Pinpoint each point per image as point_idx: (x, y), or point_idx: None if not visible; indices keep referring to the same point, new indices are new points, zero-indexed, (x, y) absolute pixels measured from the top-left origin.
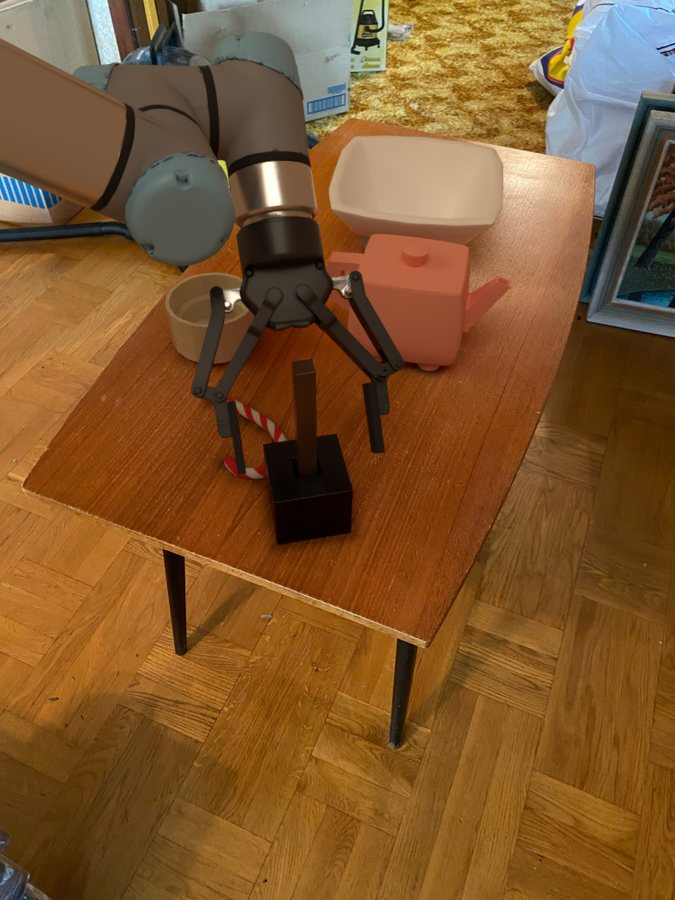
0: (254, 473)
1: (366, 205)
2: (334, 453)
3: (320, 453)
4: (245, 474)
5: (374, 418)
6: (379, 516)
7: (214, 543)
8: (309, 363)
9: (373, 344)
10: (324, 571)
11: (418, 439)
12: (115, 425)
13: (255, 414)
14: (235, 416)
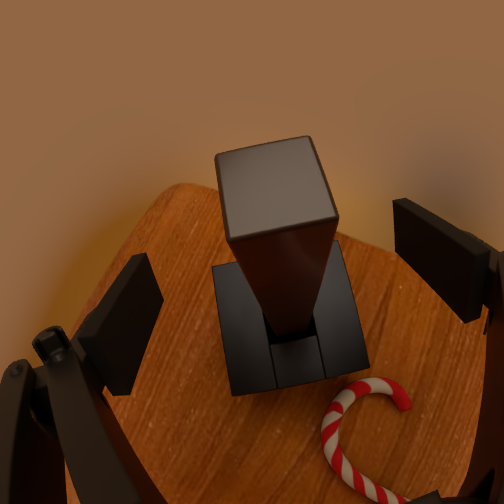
0: (369, 381)
1: None
2: (237, 347)
3: (263, 347)
4: (382, 378)
5: (121, 286)
6: (195, 320)
7: (402, 275)
8: (242, 203)
9: (60, 465)
10: None
11: (134, 442)
12: None
13: (370, 489)
14: (456, 238)
